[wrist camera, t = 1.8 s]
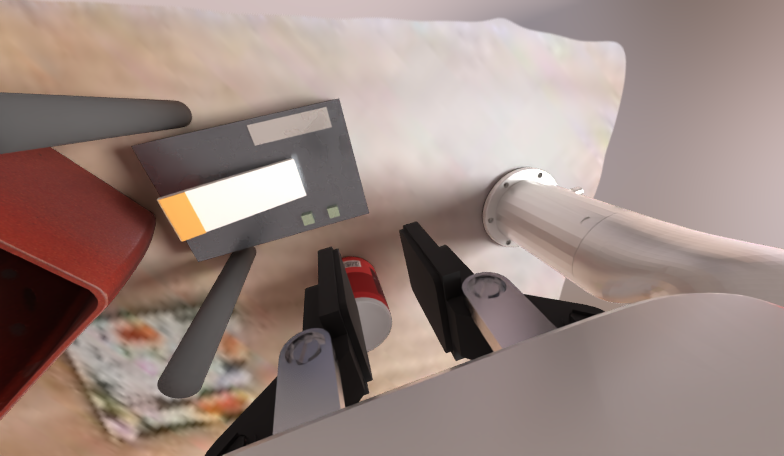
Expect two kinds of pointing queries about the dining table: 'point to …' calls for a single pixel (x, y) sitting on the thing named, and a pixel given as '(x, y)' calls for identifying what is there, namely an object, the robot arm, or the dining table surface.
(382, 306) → the canned food
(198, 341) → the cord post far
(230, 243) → the breaker panel
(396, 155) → the dining table surface
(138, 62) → the dining table surface
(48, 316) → the plant pot
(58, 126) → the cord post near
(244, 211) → the paddle
